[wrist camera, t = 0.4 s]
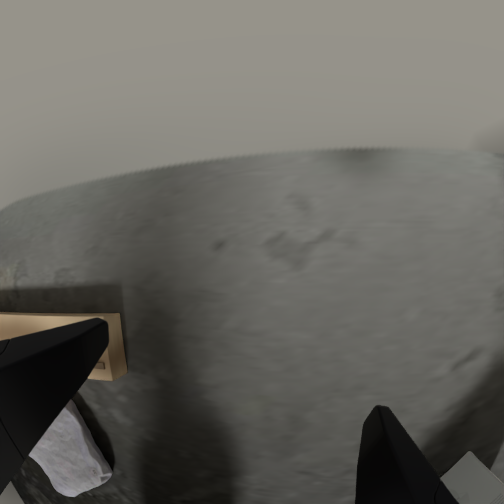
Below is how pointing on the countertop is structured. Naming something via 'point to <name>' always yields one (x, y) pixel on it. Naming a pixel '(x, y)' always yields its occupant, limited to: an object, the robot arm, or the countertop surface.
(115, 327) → the wooden grooved rail
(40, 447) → the stone block
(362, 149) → the countertop surface
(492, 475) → the skincare box
